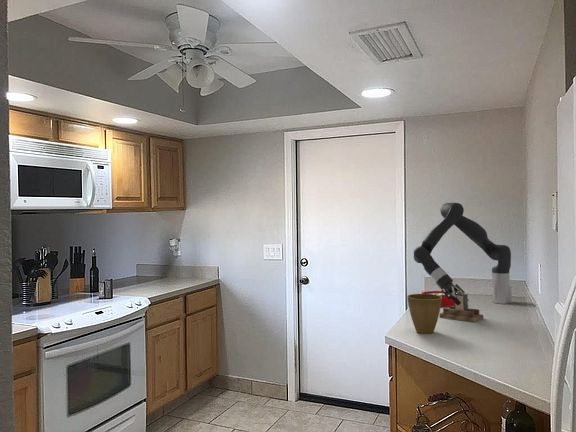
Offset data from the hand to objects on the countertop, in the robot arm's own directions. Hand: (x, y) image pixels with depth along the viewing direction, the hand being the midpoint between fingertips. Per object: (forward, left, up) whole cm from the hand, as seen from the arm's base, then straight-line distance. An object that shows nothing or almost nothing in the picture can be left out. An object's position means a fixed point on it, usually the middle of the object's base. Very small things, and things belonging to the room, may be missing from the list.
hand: (463, 303), depth 235 cm
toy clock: (0, -40, -8) cm, 41 cm away
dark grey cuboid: (+1, -1, -6) cm, 6 cm away
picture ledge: (+1, -1, -8) cm, 8 cm away
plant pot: (+26, +24, -8) cm, 36 cm away
